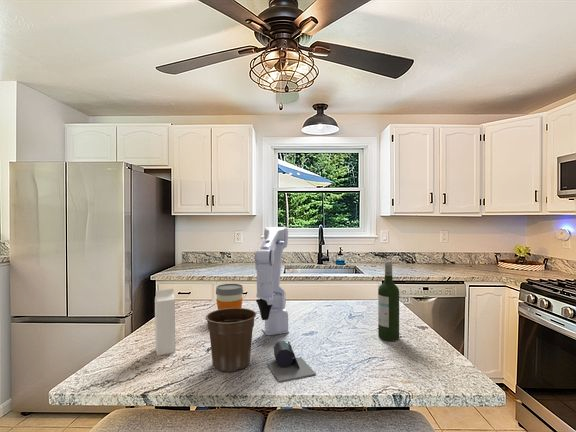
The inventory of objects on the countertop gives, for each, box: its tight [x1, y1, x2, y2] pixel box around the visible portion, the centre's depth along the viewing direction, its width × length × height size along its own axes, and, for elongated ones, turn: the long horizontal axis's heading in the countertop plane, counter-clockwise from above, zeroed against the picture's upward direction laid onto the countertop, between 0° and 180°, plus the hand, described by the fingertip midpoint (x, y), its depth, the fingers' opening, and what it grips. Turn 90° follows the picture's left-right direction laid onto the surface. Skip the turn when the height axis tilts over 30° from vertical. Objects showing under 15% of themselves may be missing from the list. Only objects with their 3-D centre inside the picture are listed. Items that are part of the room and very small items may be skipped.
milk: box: [154, 288, 176, 357], centre depth 116 cm, size 6×6×22 cm
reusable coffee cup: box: [215, 283, 244, 310], centre depth 151 cm, size 12×13×15 cm
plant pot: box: [205, 307, 257, 373], centre depth 106 cm, size 16×16×16 cm
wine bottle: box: [377, 260, 400, 342], centre depth 127 cm, size 8×8×30 cm
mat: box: [266, 356, 317, 383], centre depth 102 cm, size 12×12×1 cm
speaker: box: [273, 340, 299, 369], centre depth 106 cm, size 8×6×10 cm
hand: (264, 319), depth 118 cm, fingers closed
